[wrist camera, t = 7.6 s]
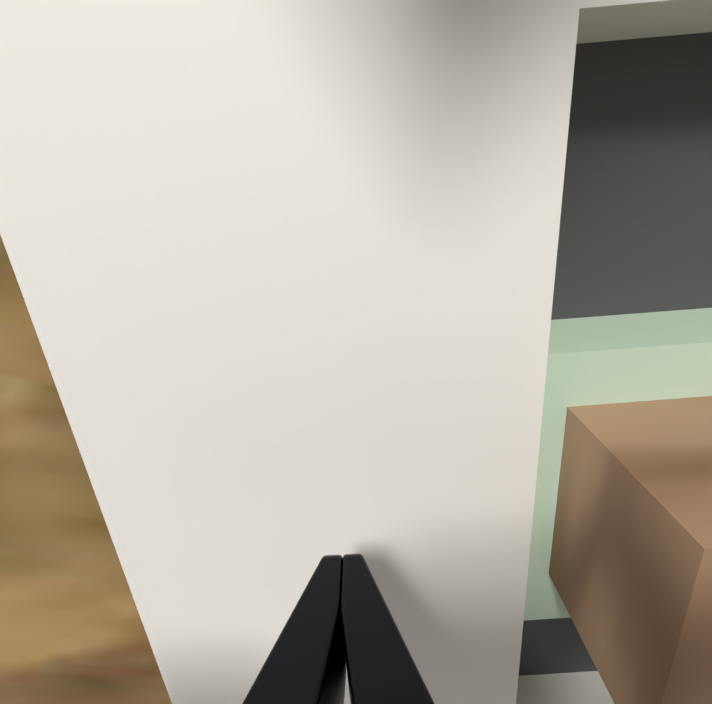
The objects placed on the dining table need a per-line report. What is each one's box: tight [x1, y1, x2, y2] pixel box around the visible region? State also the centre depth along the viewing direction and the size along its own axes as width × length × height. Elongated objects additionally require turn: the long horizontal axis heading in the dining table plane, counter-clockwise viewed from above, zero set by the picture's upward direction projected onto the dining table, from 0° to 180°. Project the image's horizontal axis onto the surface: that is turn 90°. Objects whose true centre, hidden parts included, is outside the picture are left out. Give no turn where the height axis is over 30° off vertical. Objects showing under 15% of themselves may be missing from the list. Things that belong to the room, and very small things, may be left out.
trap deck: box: [0, 0, 712, 704], centre depth 12 cm, size 23×18×2 cm
